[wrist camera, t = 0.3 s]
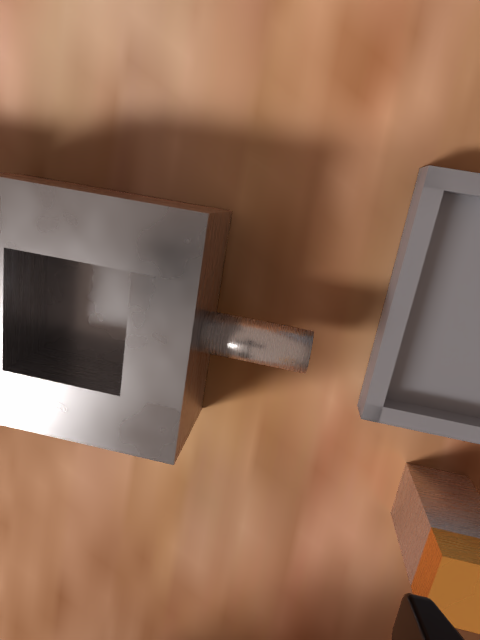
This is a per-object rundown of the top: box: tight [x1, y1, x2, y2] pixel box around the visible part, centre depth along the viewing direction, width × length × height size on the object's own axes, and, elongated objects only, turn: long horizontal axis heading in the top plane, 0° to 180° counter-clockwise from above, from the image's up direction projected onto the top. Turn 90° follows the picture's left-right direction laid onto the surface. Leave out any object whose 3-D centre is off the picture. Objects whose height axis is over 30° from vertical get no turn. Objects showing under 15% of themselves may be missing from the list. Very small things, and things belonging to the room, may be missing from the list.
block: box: [391, 463, 480, 634], centre depth 19 cm, size 3×3×6 cm
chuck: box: [0, 172, 314, 465], centre depth 19 cm, size 10×25×5 cm, turn 82°
